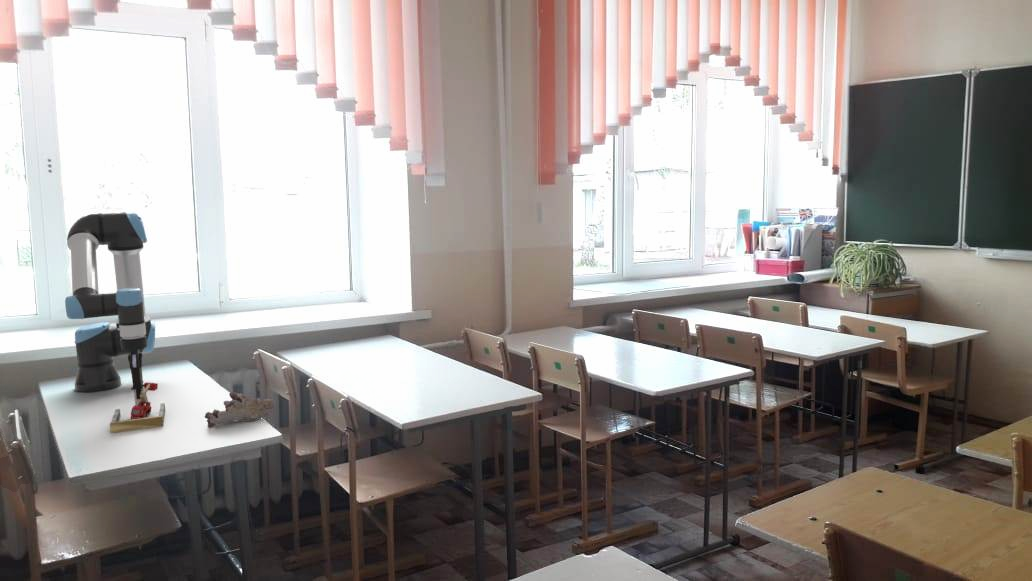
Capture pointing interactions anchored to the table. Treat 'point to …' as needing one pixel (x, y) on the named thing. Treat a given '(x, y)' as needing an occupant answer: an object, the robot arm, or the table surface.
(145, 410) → the toy fire truck
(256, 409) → the mineral specimen
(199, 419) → the table surface
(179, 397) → the table surface
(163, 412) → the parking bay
